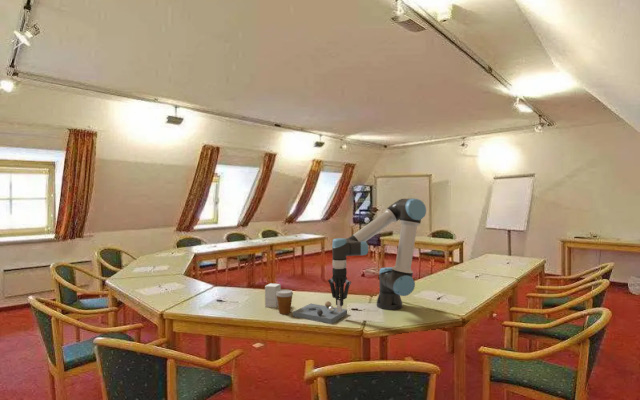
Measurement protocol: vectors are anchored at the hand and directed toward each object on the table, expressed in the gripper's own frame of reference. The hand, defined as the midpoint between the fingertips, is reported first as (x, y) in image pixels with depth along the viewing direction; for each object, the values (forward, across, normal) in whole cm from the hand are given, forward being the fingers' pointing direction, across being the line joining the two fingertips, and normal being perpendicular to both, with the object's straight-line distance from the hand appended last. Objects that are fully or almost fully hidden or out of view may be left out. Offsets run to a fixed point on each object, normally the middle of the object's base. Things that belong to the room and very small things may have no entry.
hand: (339, 311), depth 194 cm
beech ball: (0, +11, -7) cm, 13 cm away
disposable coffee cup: (+4, +32, +6) cm, 33 cm away
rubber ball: (0, +8, +7) cm, 11 cm away
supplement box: (+4, +46, -2) cm, 46 cm away
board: (+4, +12, 0) cm, 13 cm away
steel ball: (0, +5, 0) cm, 5 cm away
